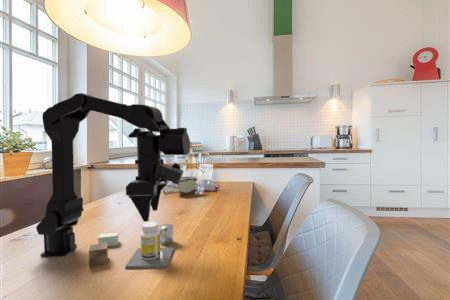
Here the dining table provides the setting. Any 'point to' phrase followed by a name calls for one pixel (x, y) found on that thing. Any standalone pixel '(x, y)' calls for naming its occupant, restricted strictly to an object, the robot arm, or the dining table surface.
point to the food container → (187, 186)
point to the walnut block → (98, 254)
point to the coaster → (159, 262)
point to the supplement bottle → (150, 241)
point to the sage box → (109, 239)
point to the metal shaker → (166, 234)
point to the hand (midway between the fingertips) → (150, 215)
